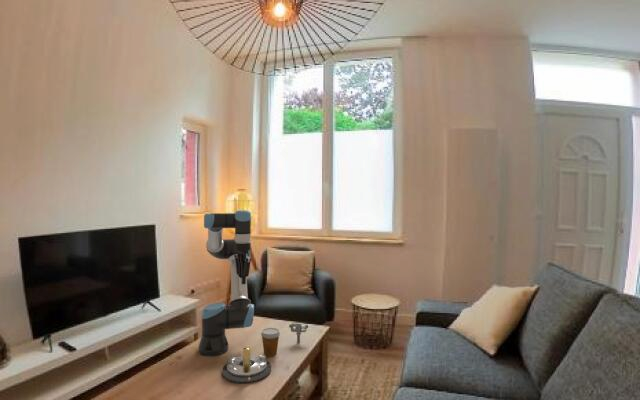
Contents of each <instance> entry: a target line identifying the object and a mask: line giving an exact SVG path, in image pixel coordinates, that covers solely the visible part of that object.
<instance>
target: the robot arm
mask: <svg viewBox="0 0 640 400" xmlns="http://www.w3.org/2000/svg"><path fill="white" fill-rule="evenodd" d="M251 215H252V213H251V211H250V210H244V209H243V210H240V209H239V210H236V211H235V212H234V213H233V212H232V213H231V212H229V213H227V212H226V213H220V212H219V213H216V212H215V213H213V212H211V213H210V212H209V213H205V214H204V215H203V228H204V229H207V240H206V244H205V245H206V246H205V247H206V250H207V253H209V254H210V255H211V256H212V257H213V258H216V259H219V260H227V263H229V264H230V281H231V282H230V283H231V284H230V285H231V289H230V290H231V300H230V301H229V302H228V305H226V303H224V302H213V303H211V304H207V305H206V306H204V307H203V308H202V311H201V336H200V337H201V338H200V340H199V344H198V347H197V349H198V350H197V353H198V354H200V355H202V356H206V357H207V356H208V357H213V356H219V355H222V354H225V353H226V352H228V350H229V341H228V338H227V335H226V330H234V329H245V328H250V327H252V326H253V324H254V323H253V322H254V314H255V304H253V303H252V301H251V299H249V296H248V295H249V294H248V281H247V278H248V277H249V275H250V268H251V262H252V257H251V248H252V247H251V246H252V245H251V240H252V239H251V237H252V235H251V232H252V231H251V229H252V225H251V224H252V216H251ZM224 229H234V238H233V239H229V238H228V239H227V238H226V239H223V231H224Z"/></svg>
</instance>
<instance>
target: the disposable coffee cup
mask: <svg viewBox="0 0 640 400" xmlns="http://www.w3.org/2000/svg"><path fill="white" fill-rule="evenodd" d="M280 334H281V332H280V330H279V329H278V328H277V327H276V328H275V327H268V328H264V329H262V331H261V332H260V336H261V337H262V338H261V340H262V346H263V355H264V356H266V357H267V358H268V357H269V358H273V357H275V356H277V352H278V346H279V345H278V344H279V338H280Z"/></svg>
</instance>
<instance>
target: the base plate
mask: <svg viewBox="0 0 640 400" xmlns="http://www.w3.org/2000/svg"><path fill="white" fill-rule="evenodd" d="M266 361H267V368H266V370H265V371H264V372H262V373H261V374H259V375H256V376H252V377H236V376H233V375H230V374H229V373H228V372H227V363H226V364H225V365H224V366H223V367H222V373H221V374H222V377H223V379H225V380H226V381H227V382H231V383H234V384H244V385H245V384H251V383H253V384H254V383H257V382H259V381H262V380H264V379H266V378H267V377H268V376H269V375H270V374H271V372H272V364H271V363H270V362H269V361H268V360H266Z"/></svg>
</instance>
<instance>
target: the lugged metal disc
mask: <svg viewBox="0 0 640 400" xmlns="http://www.w3.org/2000/svg"><path fill="white" fill-rule="evenodd" d="M267 361H268V360H267V359H266V356H265V355H264V353H262V354H259V355H257V354H251V347H247V346H246V347H243V348H242V355H238V356H230V357H229V358H228V361H227V363H226V364H227V372H228V373H229V374H230V375H233V376H236V377H252V376H256V375H259V374H261V373H262V372H264V371H265V370H266V368H267Z"/></svg>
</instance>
